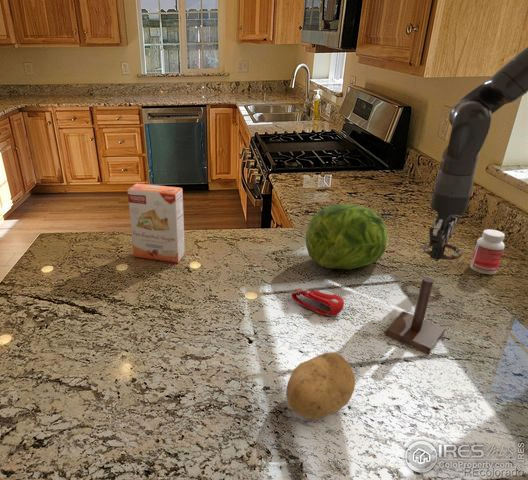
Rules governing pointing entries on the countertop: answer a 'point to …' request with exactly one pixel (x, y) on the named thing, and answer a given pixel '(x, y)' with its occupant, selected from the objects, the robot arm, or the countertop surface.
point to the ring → (446, 257)
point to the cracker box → (157, 222)
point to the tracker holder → (319, 300)
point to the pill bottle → (488, 252)
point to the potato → (320, 386)
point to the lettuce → (346, 236)
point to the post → (417, 324)
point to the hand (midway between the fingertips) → (436, 257)
